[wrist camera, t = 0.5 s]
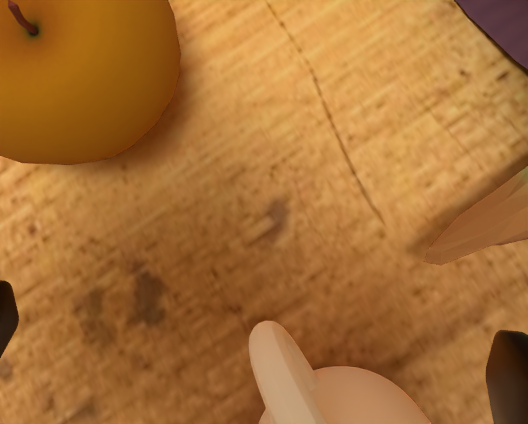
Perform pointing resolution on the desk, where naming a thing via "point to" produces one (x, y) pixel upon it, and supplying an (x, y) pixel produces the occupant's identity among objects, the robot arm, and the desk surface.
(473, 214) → the decorative sculpture
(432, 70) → the desk surface
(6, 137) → the apple
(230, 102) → the desk surface
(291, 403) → the mug
